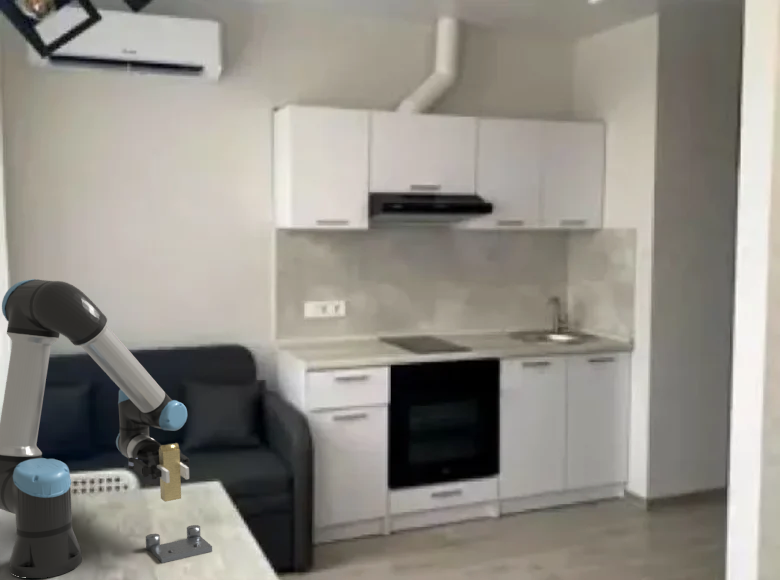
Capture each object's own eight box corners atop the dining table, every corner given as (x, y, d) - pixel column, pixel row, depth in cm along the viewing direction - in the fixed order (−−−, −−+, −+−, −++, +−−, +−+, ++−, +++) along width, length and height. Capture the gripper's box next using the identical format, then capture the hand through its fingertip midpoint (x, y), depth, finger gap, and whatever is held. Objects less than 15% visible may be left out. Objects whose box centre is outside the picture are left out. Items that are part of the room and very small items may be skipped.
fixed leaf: (159, 563, 192) (158, 550, 192) (144, 547, 201) (143, 535, 201) (214, 550, 199) (214, 538, 199) (197, 536, 209) (197, 524, 208)
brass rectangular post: (164, 501, 201) (162, 447, 200) (160, 498, 204) (158, 444, 203) (181, 498, 203) (179, 444, 202) (176, 495, 206) (175, 441, 205)
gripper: (179, 461, 223) (212, 484, 203) (113, 473, 214) (142, 498, 194) (178, 433, 222) (212, 453, 203) (112, 443, 213) (140, 465, 193)
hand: (177, 475), depth 199 cm, fingers closed on brass rectangular post, 4 cm apart
